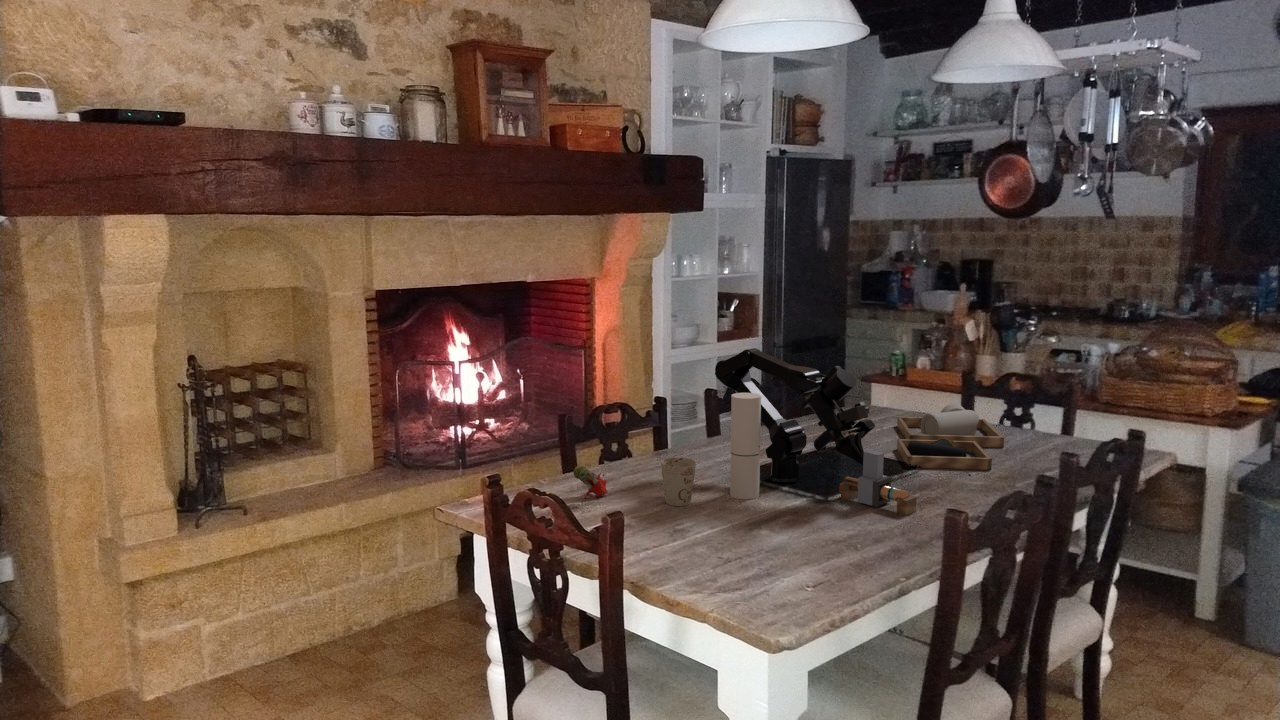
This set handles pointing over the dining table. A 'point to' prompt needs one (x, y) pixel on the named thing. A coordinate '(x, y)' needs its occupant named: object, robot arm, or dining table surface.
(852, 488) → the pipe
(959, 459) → the wooden tray
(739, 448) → the cylindrical container
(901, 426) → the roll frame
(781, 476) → the robot arm
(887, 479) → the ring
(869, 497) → the sleeve
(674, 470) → the beige paper cup
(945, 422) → the elbow connector
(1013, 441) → the dining table surface
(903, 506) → the cradle
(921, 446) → the pipe connector
